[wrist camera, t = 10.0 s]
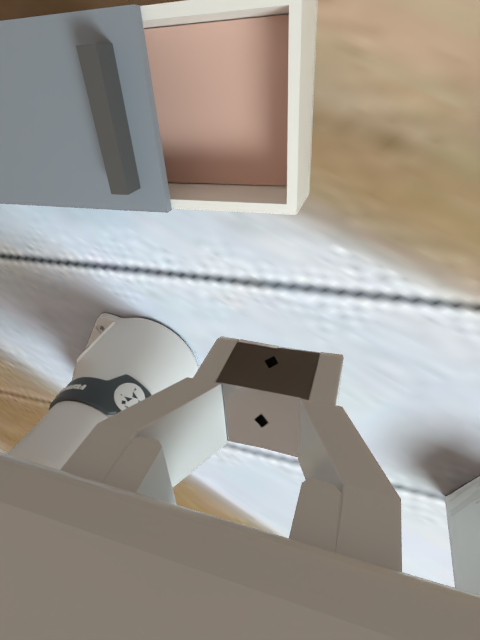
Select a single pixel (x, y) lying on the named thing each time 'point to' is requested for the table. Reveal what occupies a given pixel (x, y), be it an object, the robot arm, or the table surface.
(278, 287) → the table surface
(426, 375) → the table surface
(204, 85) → the base
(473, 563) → the skincare box
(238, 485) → the table surface
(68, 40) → the grey flat rectangular panel
